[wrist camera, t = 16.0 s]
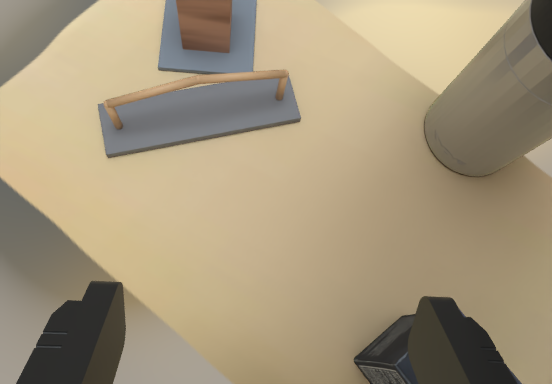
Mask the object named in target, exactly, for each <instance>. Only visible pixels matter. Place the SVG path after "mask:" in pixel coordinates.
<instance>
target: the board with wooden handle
mask: <svg viewBox="0 0 552 384" xmlns="http://www.w3.org/2000/svg"><path fill="white" fill-rule="evenodd" d="M220 82H225V83H220ZM206 83H219V84H213V85H207V86H201V87H196V88H190V89H184V90H179V89H182V88H186V87H190V86H193V85H197V84H206ZM175 90H178V91H175ZM98 109H99V115H100V120H101V126H102V132H103V138H104V144H105V150H106V155H107V157H108V158H111V157H116V156H121V155H127V154H132V153H137V152H142V151H148V150H153V149H158V148H163V147H169V146H174V145H179V144H184V143H190V142H195V141H200V140H205V139H211V138H216V137H221V136H226V135H232V134H237V133H242V132H247V131H253V130H258V129H263V128H269V127H274V126H279V125H284V124H290V123H295V122H300V119H301V116H300V113H299V109H298V106H297V102H296V99H295V95H294V92H293V88H292V85H291V81H290V78H289V73H288V71H287V70H272V71H256V72H240V73H224V74H208V75H196V76H193V77H189V78H185V79H182V80H178V81H174V82H171V83H167V84H163V85H160V86H156V87H152V88H149V89H145V90H142V91H138V92H134V93H131V94H127V95H123V96H120V97H116V98H112V99H109V100H106V101H104V103H102V104H98Z"/></svg>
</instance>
